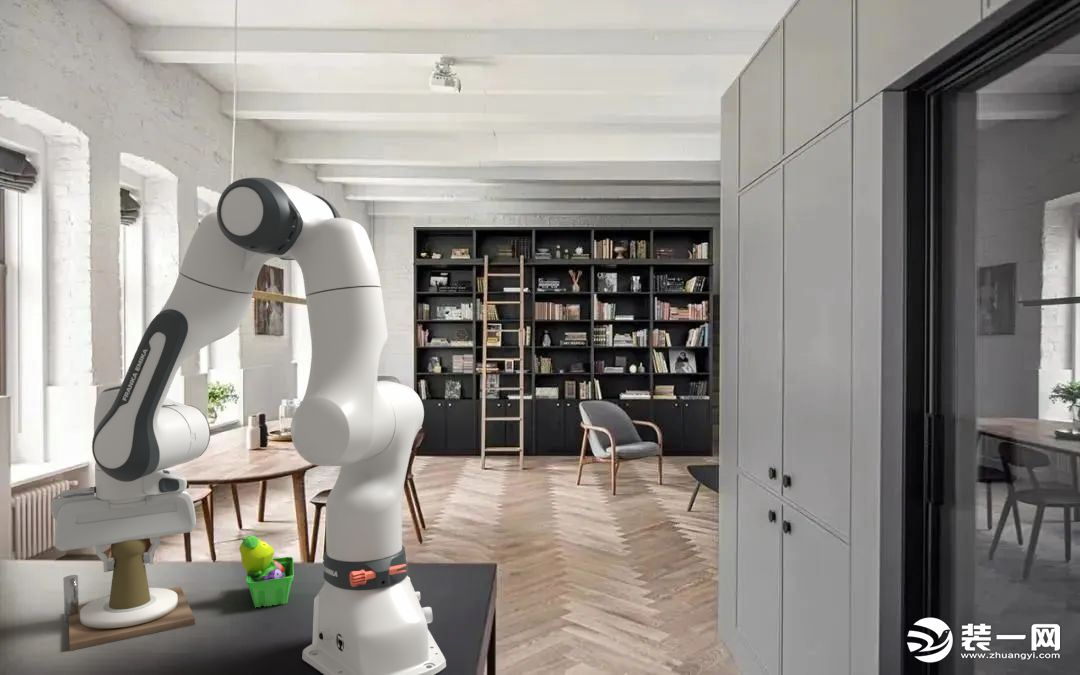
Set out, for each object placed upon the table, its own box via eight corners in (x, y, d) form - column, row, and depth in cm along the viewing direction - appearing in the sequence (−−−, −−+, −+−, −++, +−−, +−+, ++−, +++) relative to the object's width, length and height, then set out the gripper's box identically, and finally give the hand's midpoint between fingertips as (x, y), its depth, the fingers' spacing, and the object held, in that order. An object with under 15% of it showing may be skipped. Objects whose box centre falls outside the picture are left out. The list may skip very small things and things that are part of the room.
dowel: (79, 620, 122) (77, 577, 122) (64, 622, 121) (63, 580, 121) (78, 616, 124) (77, 574, 124) (64, 618, 123) (63, 576, 123)
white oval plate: (183, 615, 120) (182, 592, 120) (81, 636, 113) (80, 611, 113) (169, 582, 136) (169, 562, 135) (78, 598, 128) (78, 577, 128)
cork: (131, 610, 119) (130, 542, 119) (99, 607, 120) (98, 539, 120) (159, 597, 125) (157, 531, 125) (128, 594, 126) (127, 529, 126)
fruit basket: (294, 605, 127) (293, 540, 127) (238, 613, 125) (237, 546, 124) (293, 583, 138) (292, 522, 138) (242, 589, 135) (240, 527, 135)
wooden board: (194, 624, 120) (194, 616, 120) (69, 650, 111) (69, 642, 111) (180, 591, 134) (180, 585, 134) (68, 612, 125) (68, 605, 125)
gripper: (50, 495, 114) (52, 585, 114) (196, 479, 125) (198, 561, 125) (50, 487, 119) (53, 574, 119) (191, 472, 130) (192, 551, 130)
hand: (128, 567), depth 122 cm, fingers open, 4 cm apart
